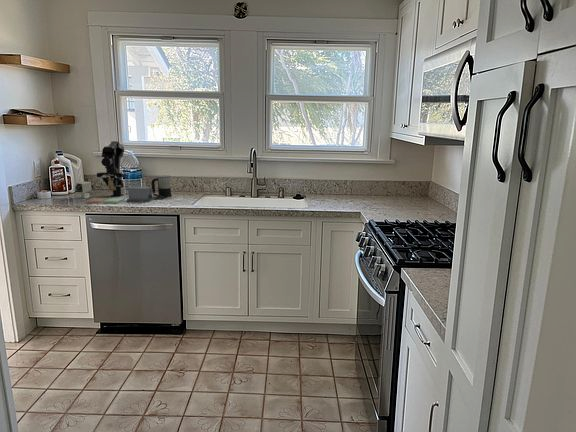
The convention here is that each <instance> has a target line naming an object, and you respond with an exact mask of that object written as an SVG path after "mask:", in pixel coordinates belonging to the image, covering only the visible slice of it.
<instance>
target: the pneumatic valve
mask: <svg viewBox="0 0 576 432" xmlns="http://www.w3.org/2000/svg"><path fill="white" fill-rule="evenodd" d="M93 189H94V184H93V183H92V181H83V182H76V185H75V190H76V193H81V196H80V197H81V198H82V199H89V198H90V193H89V192H93Z"/></svg>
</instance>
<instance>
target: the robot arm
mask: <svg viewBox="0 0 576 432" xmlns="http://www.w3.org/2000/svg"><path fill="white" fill-rule="evenodd" d="M101 151H102V152H101V157H102V159H101V165H102V166H103V167H104V169H105V171H104V172H103V171H102V172H100V171H99V172H97V173H96V178H101V179H102V180H103V182H104V184H106V187H108V179H109V178H114V185H115V187H116V190H113V191H112V194H111V195H110V196H111V197H121V196H123V195H124V193H122V188H124V185H125V184H124V182H123V179H122V178H124V177H126V173H125V172H120V171H121V161H122V159H121V158H122V157H123V156H124V153H125V147H124V145H123V144H122V143H120V141H118V140H116V141H115V140H114V141H110V144H109V145H107V146H104V147H102V150H101Z"/></svg>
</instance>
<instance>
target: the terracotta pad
mask: <svg viewBox="0 0 576 432" xmlns="http://www.w3.org/2000/svg"><path fill="white" fill-rule="evenodd" d="M107 199H109V198H108V197H93V198H90V199H89V198H88V199H86V200H85V202H86V204H87V203H88V204H102V203H103V201H105V200H107Z"/></svg>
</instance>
